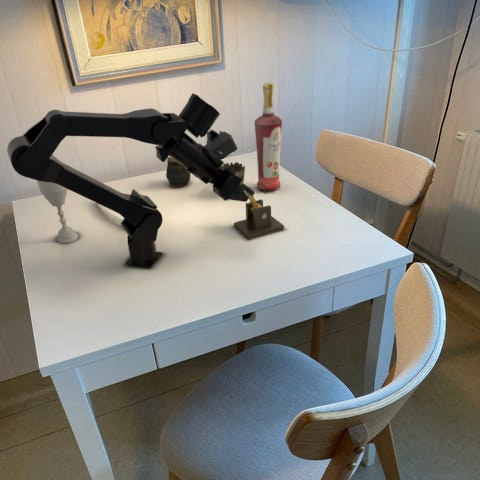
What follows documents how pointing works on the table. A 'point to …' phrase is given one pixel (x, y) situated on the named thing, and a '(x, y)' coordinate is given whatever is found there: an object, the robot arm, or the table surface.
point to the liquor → (268, 143)
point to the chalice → (57, 198)
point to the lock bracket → (258, 222)
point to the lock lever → (250, 196)
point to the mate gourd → (177, 173)
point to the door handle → (110, 214)
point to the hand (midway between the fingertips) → (238, 192)
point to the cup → (235, 168)
